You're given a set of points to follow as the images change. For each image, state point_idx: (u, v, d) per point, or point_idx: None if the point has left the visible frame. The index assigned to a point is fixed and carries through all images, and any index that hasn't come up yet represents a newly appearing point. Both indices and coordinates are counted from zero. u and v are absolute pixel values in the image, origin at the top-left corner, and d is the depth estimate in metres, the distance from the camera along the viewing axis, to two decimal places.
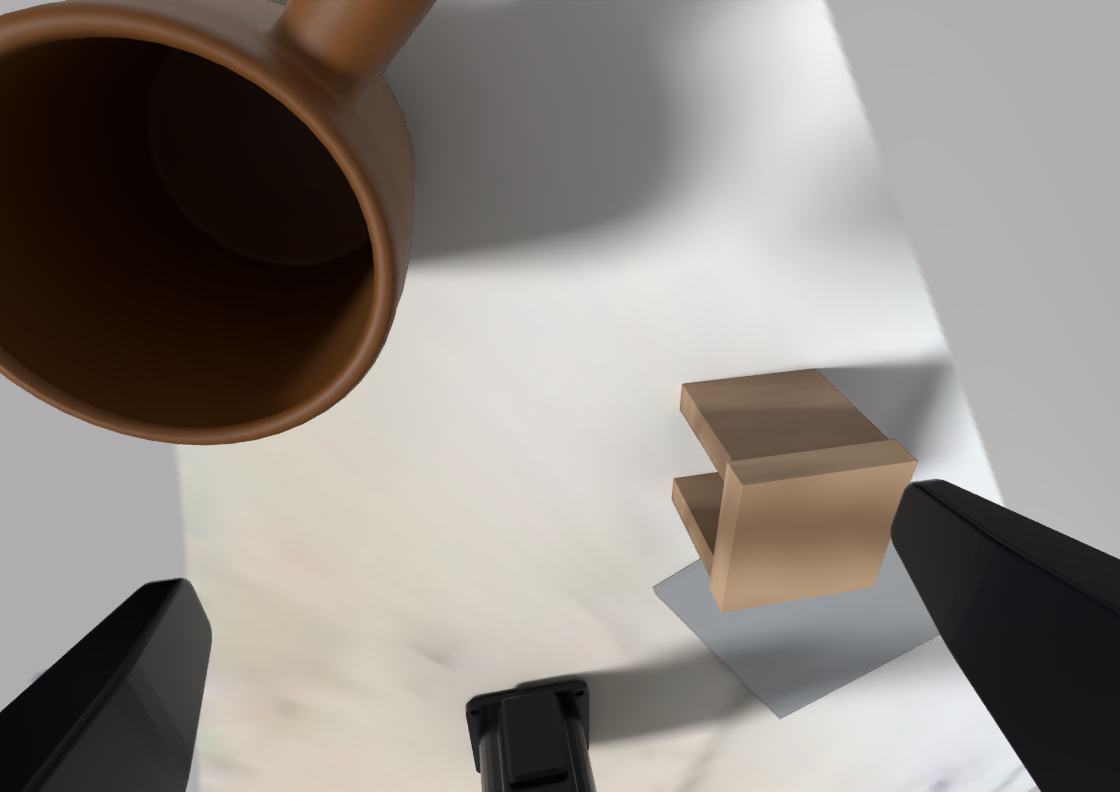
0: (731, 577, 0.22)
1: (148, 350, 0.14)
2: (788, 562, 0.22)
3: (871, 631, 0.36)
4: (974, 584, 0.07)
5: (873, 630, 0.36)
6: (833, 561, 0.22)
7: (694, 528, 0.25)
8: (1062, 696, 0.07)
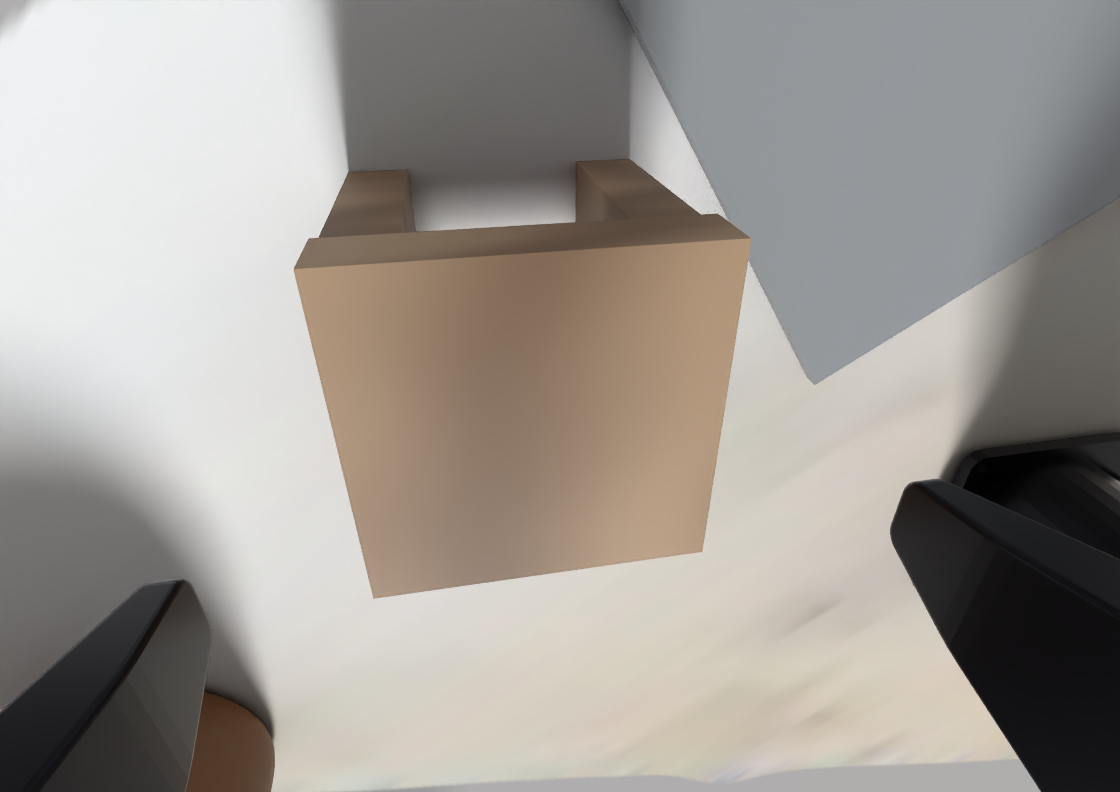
0: (609, 557, 0.12)
1: None
2: (592, 472, 0.10)
3: None
4: (974, 584, 0.07)
5: None
6: (617, 377, 0.09)
7: None
8: (1062, 696, 0.07)
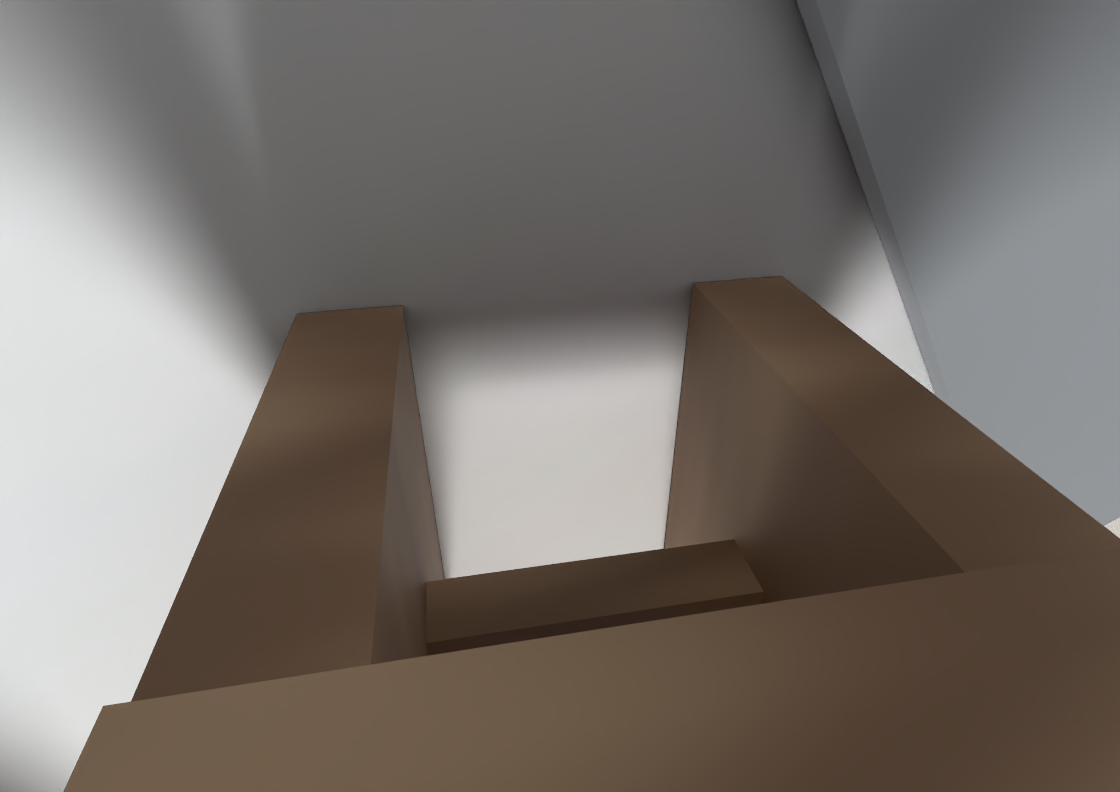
0: None
1: None
2: None
3: None
4: None
5: None
6: None
7: None
8: None
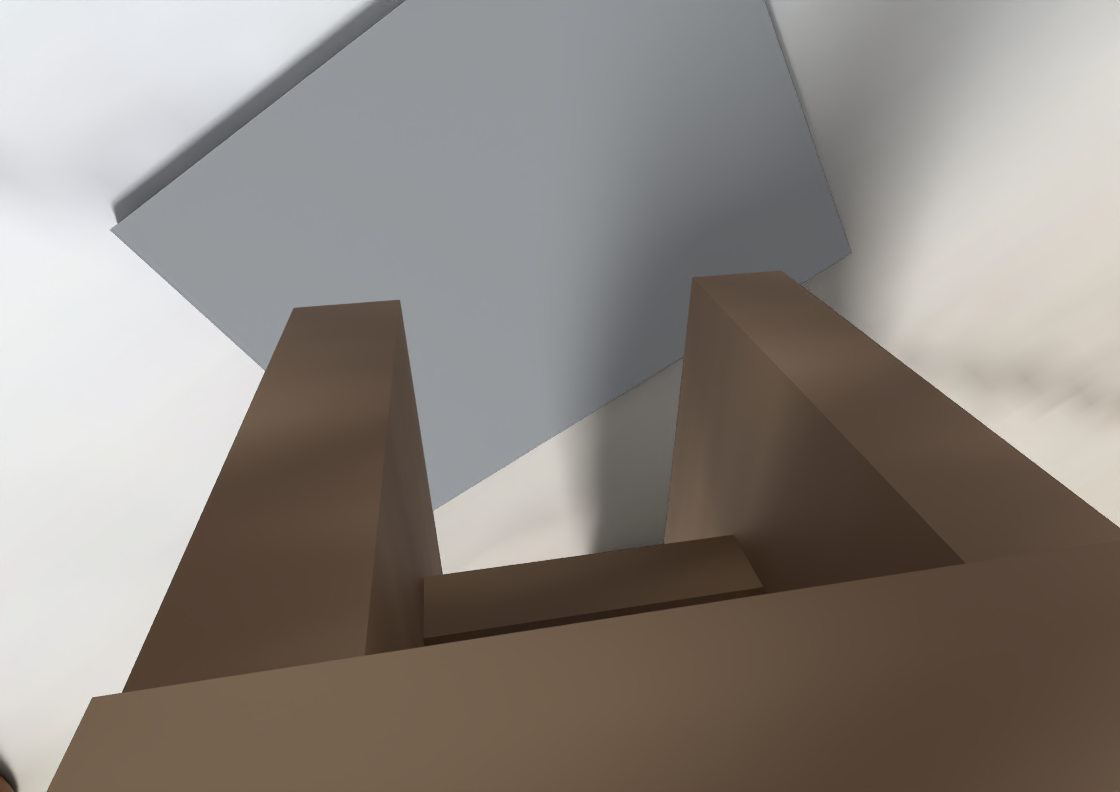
0: None
1: None
2: None
3: (630, 96, 0.16)
4: None
5: (626, 94, 0.16)
6: None
7: None
8: None
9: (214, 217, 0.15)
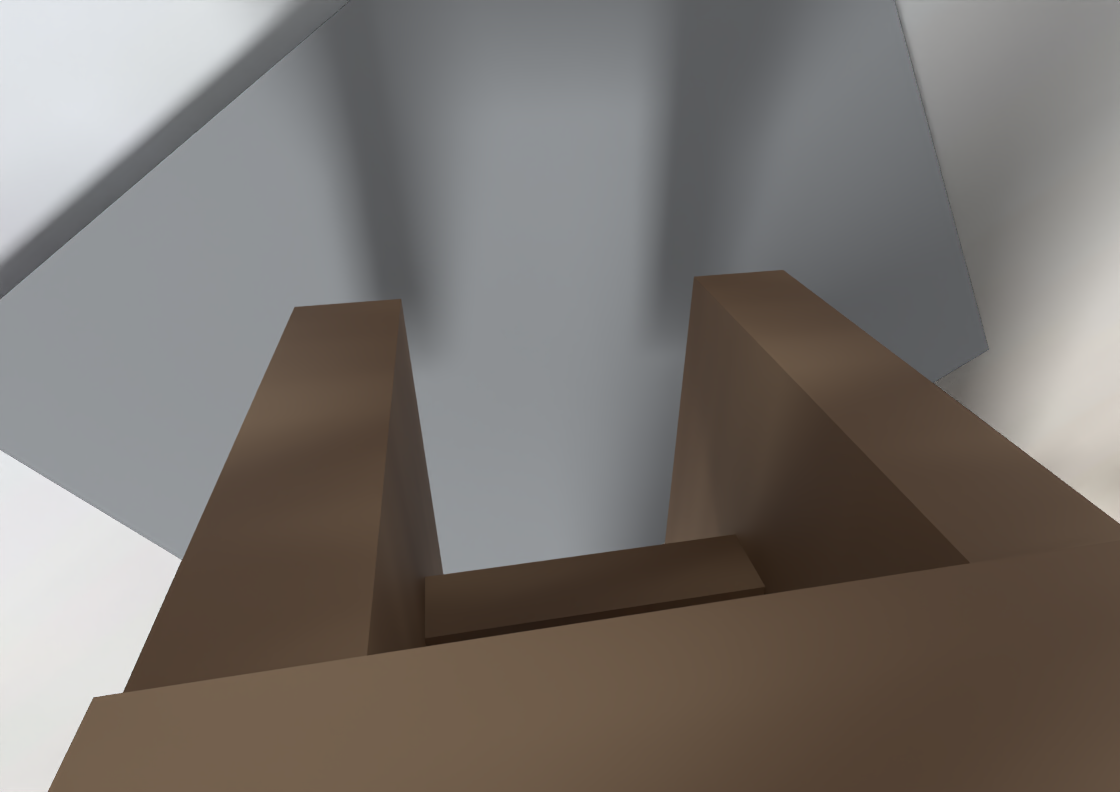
0: None
1: None
2: None
3: (683, 155, 0.10)
4: None
5: (677, 152, 0.10)
6: None
7: None
8: None
9: (58, 360, 0.10)
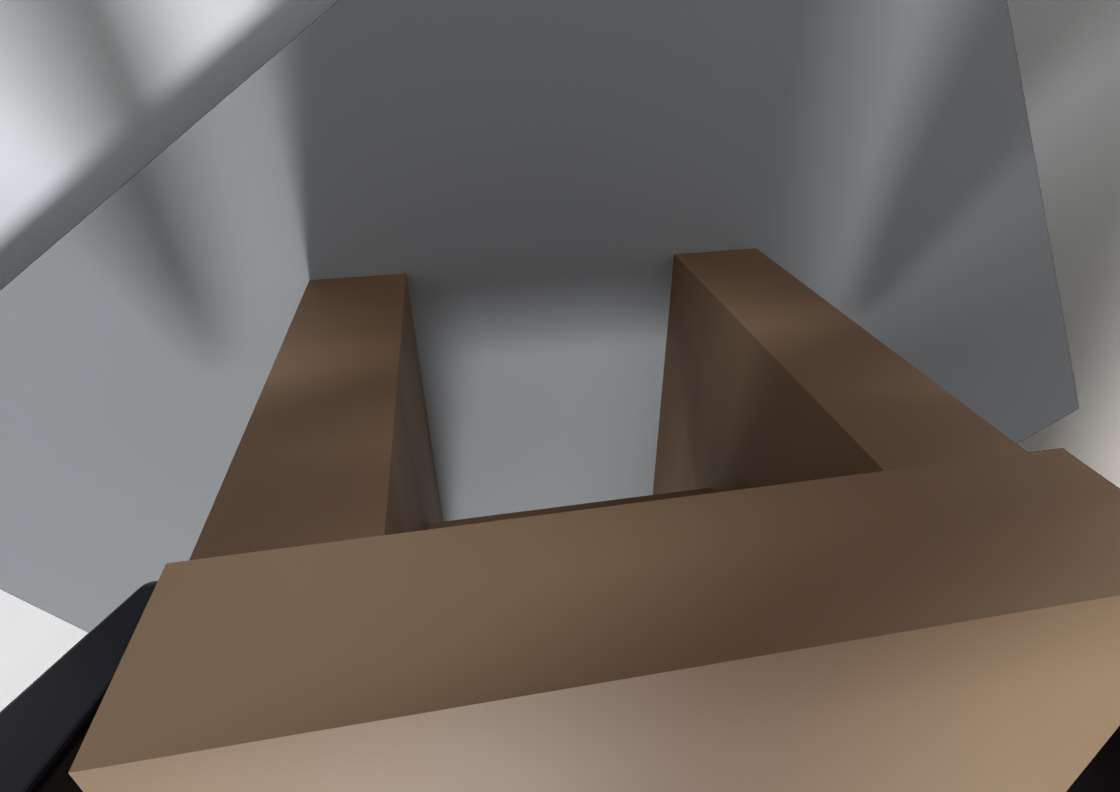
0: None
1: None
2: None
3: (741, 195, 0.08)
4: None
5: (735, 191, 0.08)
6: None
7: None
8: None
9: None
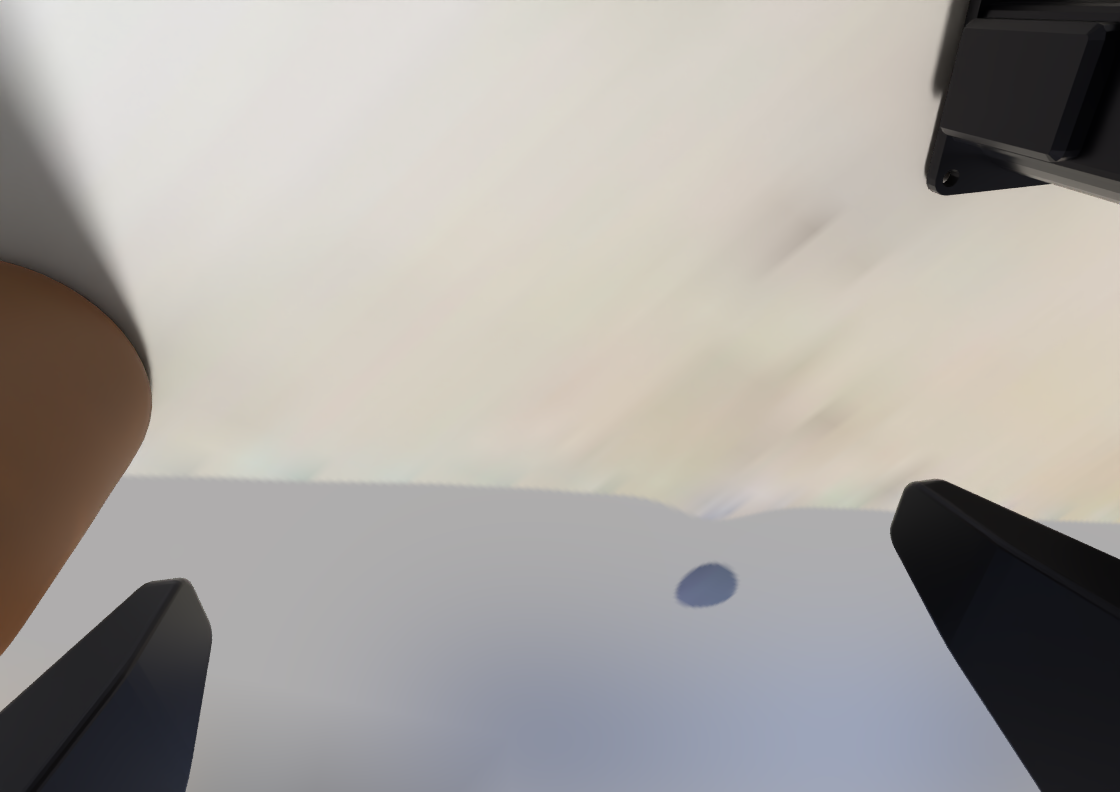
0: None
1: None
2: None
3: None
4: (974, 584, 0.07)
5: None
6: None
7: None
8: (1064, 697, 0.07)
9: None
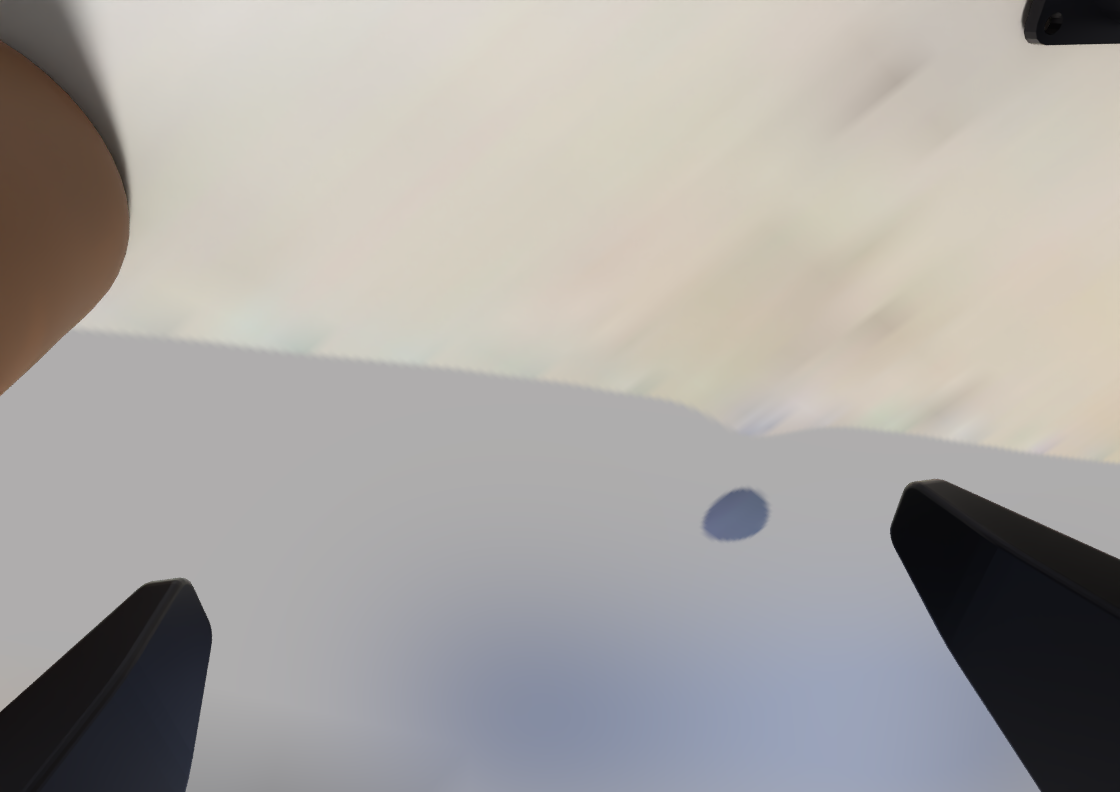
0: None
1: None
2: None
3: None
4: (974, 584, 0.07)
5: None
6: None
7: None
8: (1062, 696, 0.07)
9: None
